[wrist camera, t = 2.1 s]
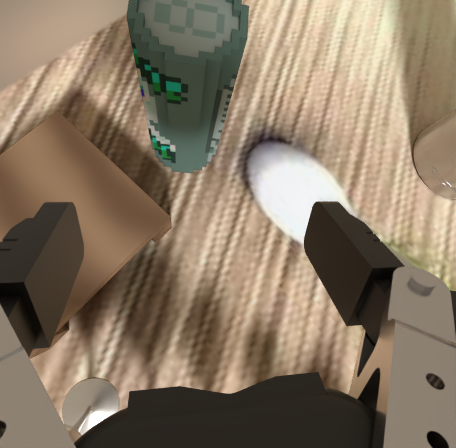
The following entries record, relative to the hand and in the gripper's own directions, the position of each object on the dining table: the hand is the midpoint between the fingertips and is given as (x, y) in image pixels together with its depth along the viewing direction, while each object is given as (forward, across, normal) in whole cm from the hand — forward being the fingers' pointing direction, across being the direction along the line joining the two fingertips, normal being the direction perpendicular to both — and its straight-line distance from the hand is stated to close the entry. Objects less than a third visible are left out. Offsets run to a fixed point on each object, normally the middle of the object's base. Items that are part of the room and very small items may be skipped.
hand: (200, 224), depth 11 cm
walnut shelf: (+15, +10, +11) cm, 21 cm away
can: (+21, 0, +4) cm, 22 cm away
